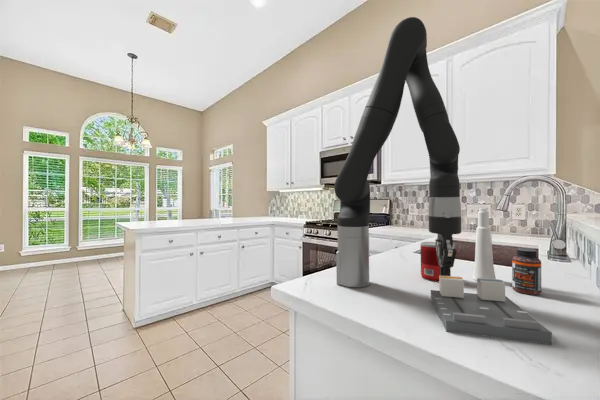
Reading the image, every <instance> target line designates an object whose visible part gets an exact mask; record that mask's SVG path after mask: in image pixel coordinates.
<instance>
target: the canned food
mask: <svg viewBox="0 0 600 400" xmlns="http://www.w3.org/2000/svg"><path fill="white" fill-rule="evenodd" d="M439 275H440V266H439V262H438V260H437V252H436V245H435V241H423V242H420V276H421V278H423V279H424V280H427V281H430V282H438V283H439Z"/></svg>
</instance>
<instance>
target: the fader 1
mask: <svg viewBox="0 0 600 400" xmlns="http://www.w3.org/2000/svg"><path fill="white" fill-rule="evenodd" d="M464 281H465V280H464V279H463V277H461V276H452V275H451V276H440V275H439V282H438V285H439V286H438V288H439V290H438V291H439V292H440V294H441V295H442V296H448V297H459V298H464V293H465V287H464V285H465V284H464V283H465V282H464Z"/></svg>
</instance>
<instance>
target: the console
mask: <svg viewBox="0 0 600 400" xmlns="http://www.w3.org/2000/svg"><path fill="white" fill-rule="evenodd" d="M430 300H431V301H432V304H433V306H434V308H435V309H436V313H437V314H438V316H439V318H440V321H441V323H442V325H443V327H444V329H445V331H446V332H448V333H457V334H464V335H472V336H473V335H474V336H482V337H487V338H488V337H490V338H497V339H505V340H506V339H507V340H514V341H521V342H529V343H536V342H537V344H547V345H553V333H552V331H551V330H549V329H548V328H547V327H546V326H544V325H543V324H541V323H540V322H539V321H538V320H537V319H535V318H534V317H533V316H531V314H529V312H527V311H525V310H524V309H523V308H522V307H520V306H519V305H517V303H515V302H514V301H513V300H511V299H510V298H509V297H508V296H506V295H505V302H504V301H493V300H482V299H481V298H480V297H479V296H478V295H477V293H471V292H464V298H459V297H448V296H442V295H441V294H440V292H439V290H436V289H435V290H434V289H430Z"/></svg>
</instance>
